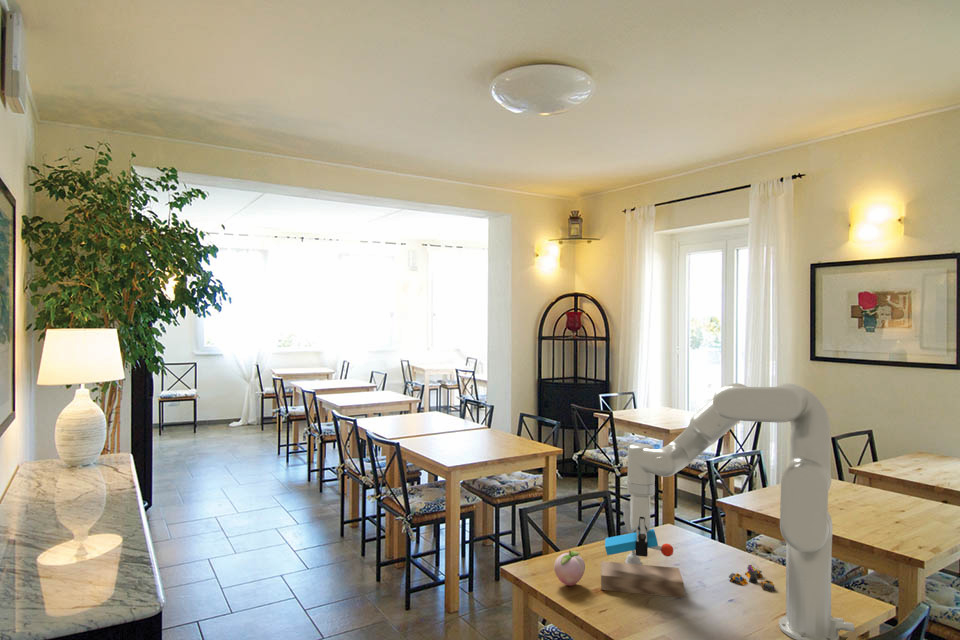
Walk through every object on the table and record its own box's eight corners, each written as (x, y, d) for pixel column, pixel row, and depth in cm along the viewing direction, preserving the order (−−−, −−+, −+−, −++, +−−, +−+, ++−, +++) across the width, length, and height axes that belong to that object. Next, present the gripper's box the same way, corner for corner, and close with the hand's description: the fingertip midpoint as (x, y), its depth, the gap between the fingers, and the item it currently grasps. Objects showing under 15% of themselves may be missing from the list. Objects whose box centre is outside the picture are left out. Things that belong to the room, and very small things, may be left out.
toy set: (755, 597, 158) (756, 580, 158) (724, 580, 169) (724, 564, 169) (787, 590, 163) (787, 573, 163) (755, 574, 173) (755, 558, 173)
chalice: (617, 559, 182) (617, 502, 182) (634, 556, 185) (634, 500, 185) (632, 568, 175) (632, 509, 176) (649, 565, 178) (649, 506, 179)
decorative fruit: (561, 576, 170) (562, 542, 170) (588, 582, 165) (588, 548, 166) (548, 588, 162) (548, 552, 162) (576, 595, 157) (576, 559, 157)
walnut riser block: (678, 581, 167) (678, 567, 167) (683, 597, 157) (683, 582, 157) (600, 574, 171) (600, 561, 171) (601, 589, 161) (601, 575, 161)
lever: (611, 571, 162) (676, 559, 159) (605, 546, 163) (668, 534, 159) (611, 561, 169) (673, 550, 165) (605, 538, 170) (666, 526, 166)
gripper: (625, 479, 173) (625, 538, 173) (629, 495, 156) (628, 561, 156) (651, 480, 172) (651, 540, 172) (657, 497, 155) (657, 564, 155)
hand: (640, 550), depth 164 cm, fingers closed on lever, 7 cm apart
